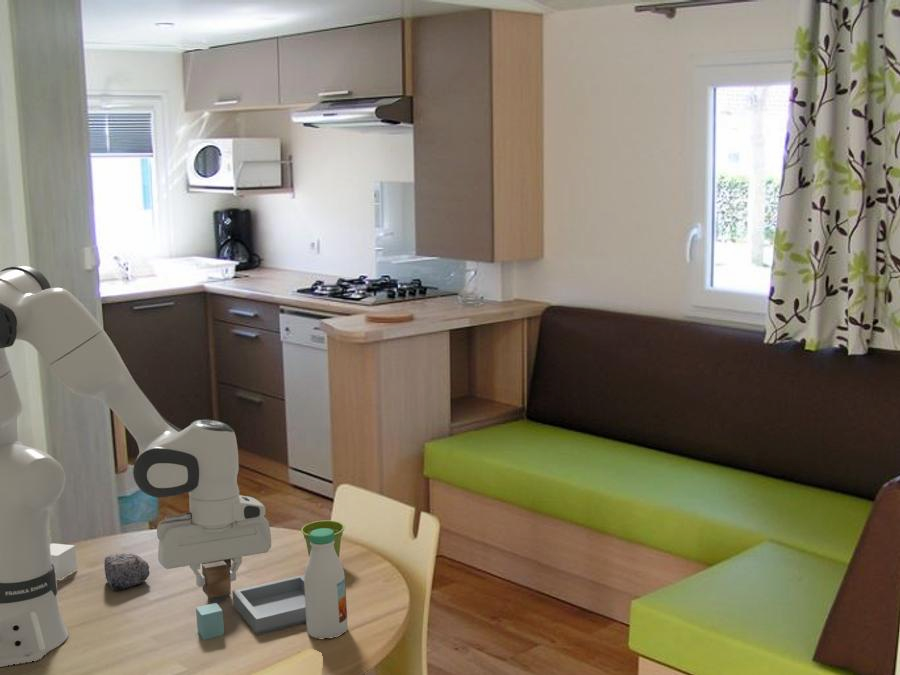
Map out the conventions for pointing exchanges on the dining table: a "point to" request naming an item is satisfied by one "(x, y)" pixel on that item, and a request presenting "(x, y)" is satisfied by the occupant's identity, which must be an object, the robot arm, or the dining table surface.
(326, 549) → the milk bottle
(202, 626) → the teal block
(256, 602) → the tray
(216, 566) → the walnut block
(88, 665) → the dining table surface
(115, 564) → the pumice stone
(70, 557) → the white cube
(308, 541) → the plant pot
